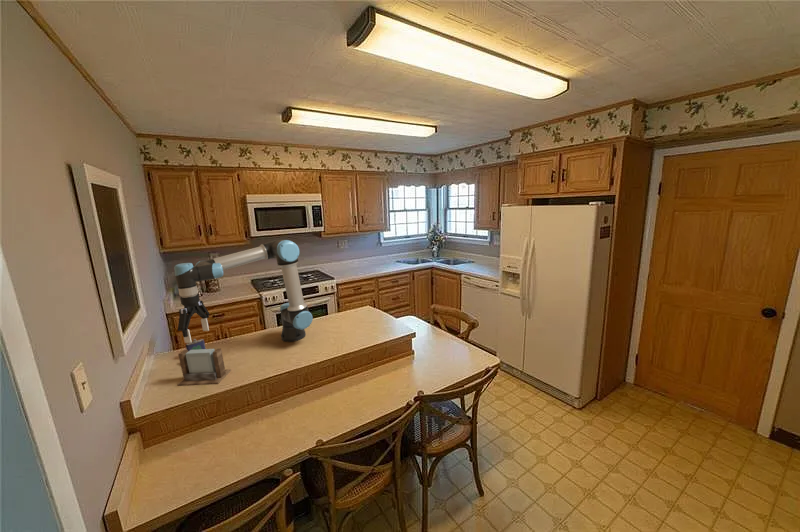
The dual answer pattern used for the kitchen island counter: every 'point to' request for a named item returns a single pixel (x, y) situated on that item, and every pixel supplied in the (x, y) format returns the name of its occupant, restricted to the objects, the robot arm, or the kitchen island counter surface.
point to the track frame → (203, 377)
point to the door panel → (201, 361)
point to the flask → (196, 345)
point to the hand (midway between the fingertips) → (197, 336)
